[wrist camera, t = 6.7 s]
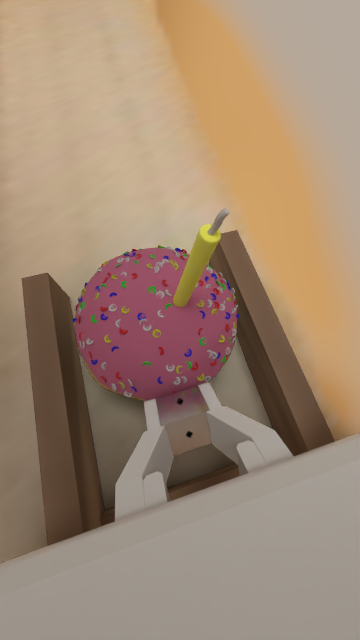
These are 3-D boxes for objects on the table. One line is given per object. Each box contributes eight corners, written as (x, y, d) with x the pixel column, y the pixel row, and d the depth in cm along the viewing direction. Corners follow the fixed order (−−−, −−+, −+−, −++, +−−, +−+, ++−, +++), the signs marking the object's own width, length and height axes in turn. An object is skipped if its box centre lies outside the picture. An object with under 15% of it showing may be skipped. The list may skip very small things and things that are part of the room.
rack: (81, 547, 13) (52, 592, 10) (48, 302, 18) (21, 278, 15) (310, 459, 15) (349, 473, 12) (225, 259, 20) (236, 230, 17)
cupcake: (214, 287, 19) (277, 106, 8) (227, 402, 16) (362, 374, 5) (102, 290, 19) (-1, 103, 7) (94, 410, 16) (-101, 398, 4)
